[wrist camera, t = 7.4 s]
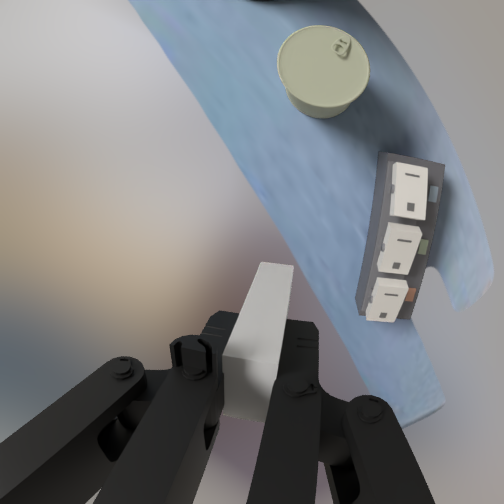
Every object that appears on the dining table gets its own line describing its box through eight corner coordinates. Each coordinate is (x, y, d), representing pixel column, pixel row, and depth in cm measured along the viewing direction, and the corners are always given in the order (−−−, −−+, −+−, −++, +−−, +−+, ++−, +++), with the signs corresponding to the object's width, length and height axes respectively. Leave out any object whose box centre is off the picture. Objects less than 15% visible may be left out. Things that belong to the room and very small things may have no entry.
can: (367, 83, 33) (389, 61, 22) (327, 132, 36) (335, 127, 25) (311, 43, 32) (311, 7, 21) (271, 91, 36) (256, 71, 25)
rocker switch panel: (378, 151, 36) (390, 152, 30) (430, 161, 35) (448, 165, 29) (355, 298, 44) (360, 319, 38) (401, 302, 43) (411, 323, 37)
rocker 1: (391, 164, 31) (395, 161, 29) (424, 170, 30) (429, 168, 29) (387, 215, 31) (392, 214, 30) (421, 220, 31) (426, 220, 29)
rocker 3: (375, 277, 34) (377, 285, 33) (407, 280, 34) (410, 289, 32) (364, 311, 38) (365, 320, 36) (393, 313, 37) (395, 322, 36)
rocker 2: (386, 221, 32) (389, 229, 30) (420, 226, 31) (424, 234, 30) (375, 263, 35) (377, 271, 34) (406, 266, 35) (409, 275, 33)
